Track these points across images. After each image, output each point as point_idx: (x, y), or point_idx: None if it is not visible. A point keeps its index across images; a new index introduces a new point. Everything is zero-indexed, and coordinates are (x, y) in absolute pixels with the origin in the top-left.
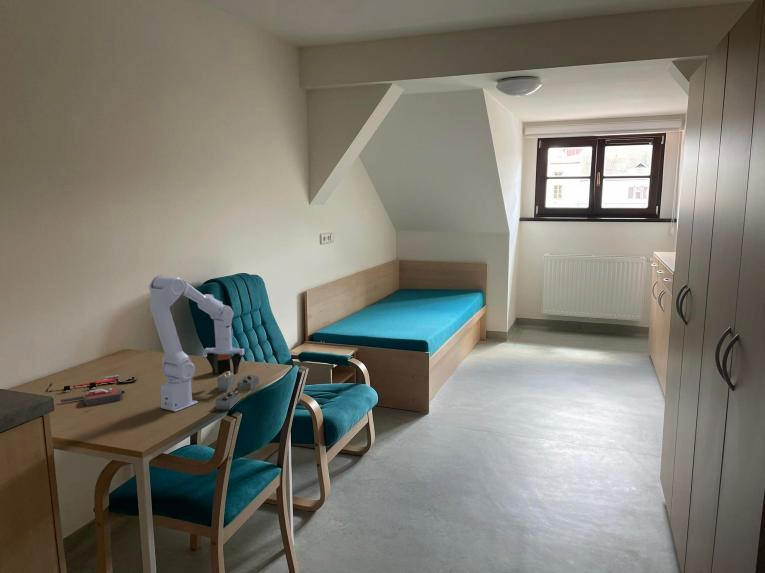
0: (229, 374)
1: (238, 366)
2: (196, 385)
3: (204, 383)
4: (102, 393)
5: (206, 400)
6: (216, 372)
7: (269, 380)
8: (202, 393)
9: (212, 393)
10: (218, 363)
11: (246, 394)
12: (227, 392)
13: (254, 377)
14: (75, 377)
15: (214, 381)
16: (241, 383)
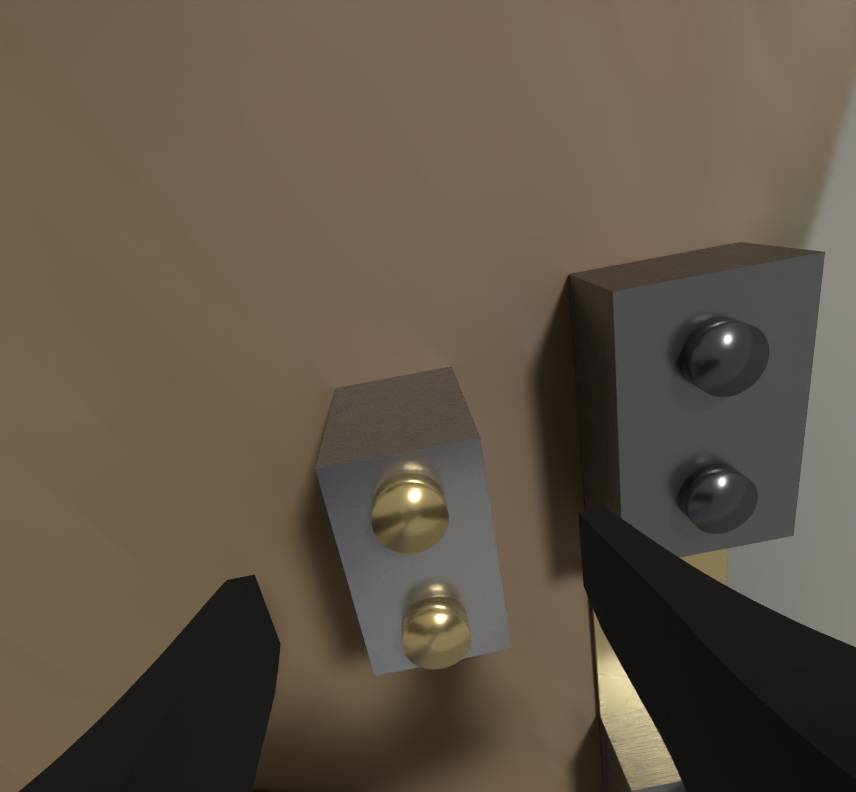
0: (473, 541)
1: (685, 569)
2: (12, 506)
3: (40, 422)
4: None
5: (435, 750)
6: (267, 626)
7: (850, 49)
8: (282, 657)
9: None
10: None
11: (725, 576)
12: (652, 788)
13: (781, 325)
14: None
15: (99, 318)
16: (676, 552)
